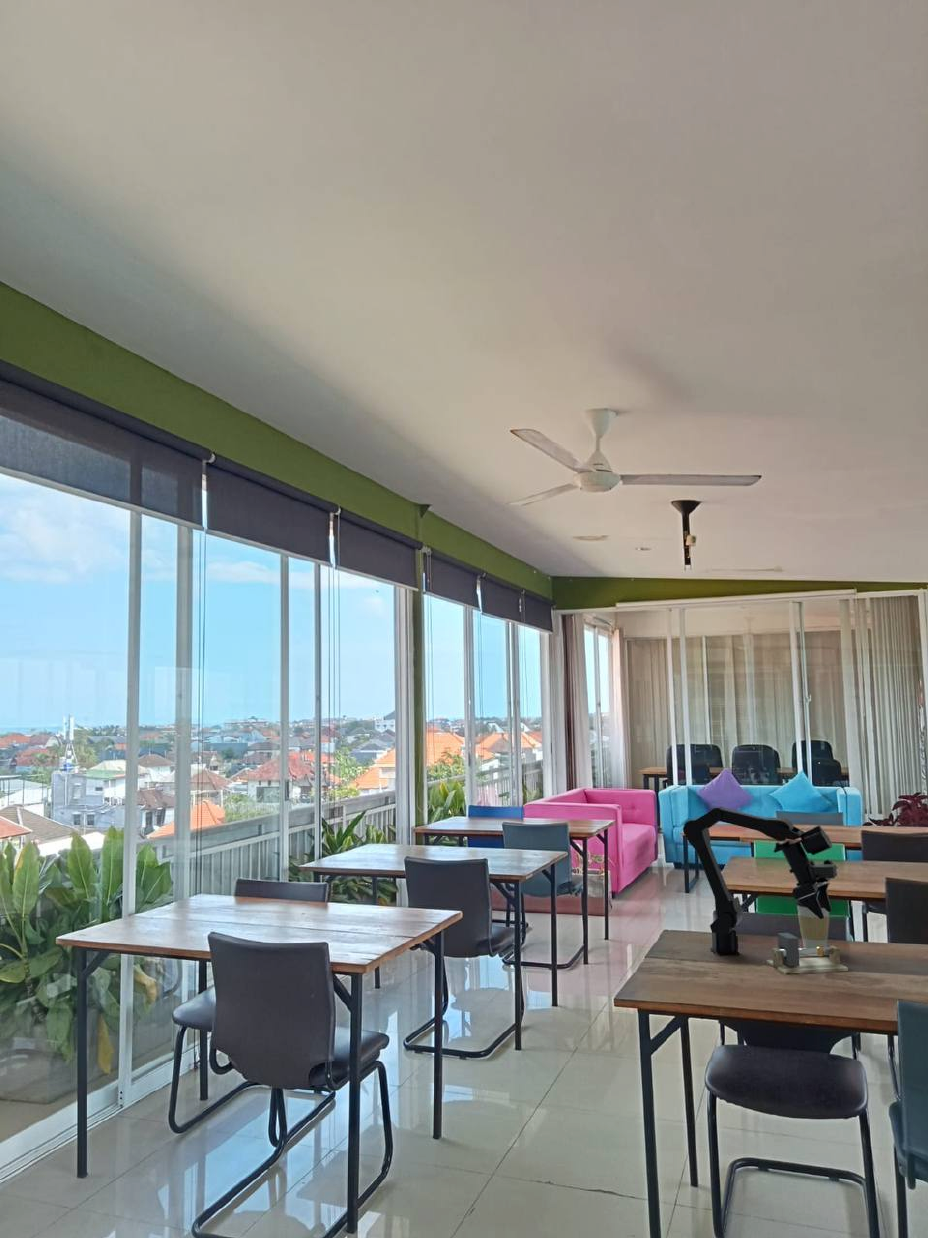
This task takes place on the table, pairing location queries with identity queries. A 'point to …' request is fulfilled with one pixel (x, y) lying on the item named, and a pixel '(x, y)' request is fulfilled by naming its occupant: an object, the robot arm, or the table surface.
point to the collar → (789, 948)
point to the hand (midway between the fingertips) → (826, 915)
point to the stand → (809, 963)
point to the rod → (810, 951)
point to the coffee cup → (813, 926)
